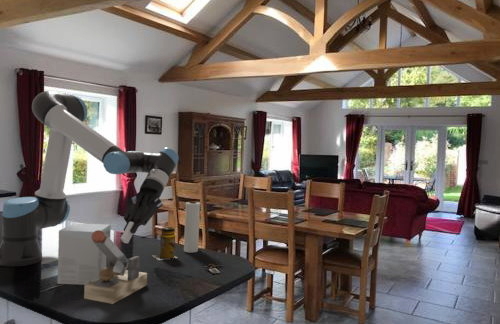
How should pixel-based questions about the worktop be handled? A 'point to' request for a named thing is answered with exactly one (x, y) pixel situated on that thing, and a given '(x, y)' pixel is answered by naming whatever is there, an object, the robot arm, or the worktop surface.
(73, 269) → the supplement box
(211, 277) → the worktop surface
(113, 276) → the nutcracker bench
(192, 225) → the paper towel roll
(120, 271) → the lever
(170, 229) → the condiment
